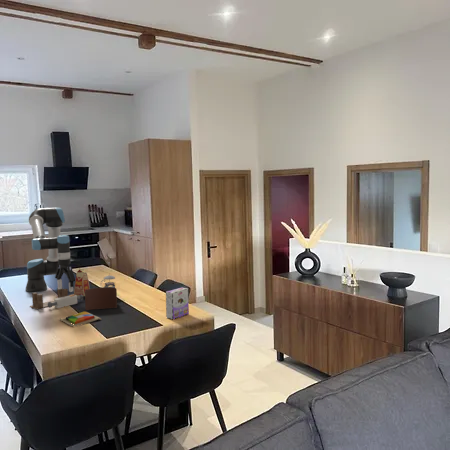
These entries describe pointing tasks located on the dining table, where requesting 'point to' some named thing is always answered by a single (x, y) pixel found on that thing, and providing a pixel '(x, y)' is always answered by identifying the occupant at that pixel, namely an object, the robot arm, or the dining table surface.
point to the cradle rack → (39, 303)
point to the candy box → (177, 303)
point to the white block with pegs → (65, 301)
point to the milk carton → (81, 282)
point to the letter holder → (100, 298)
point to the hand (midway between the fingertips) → (65, 290)
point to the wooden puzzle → (80, 318)
